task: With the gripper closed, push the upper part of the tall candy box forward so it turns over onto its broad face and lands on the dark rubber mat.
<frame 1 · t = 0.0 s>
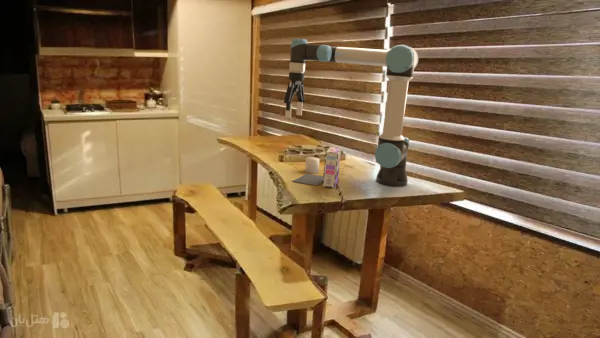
hand: (293, 116, 227), 28 cm above the table, fingers open, 13 cm apart
mat: (311, 179, 221), on the table
candy box: (330, 184, 216), on the table
cream capsule shape: (311, 171, 237), on the table
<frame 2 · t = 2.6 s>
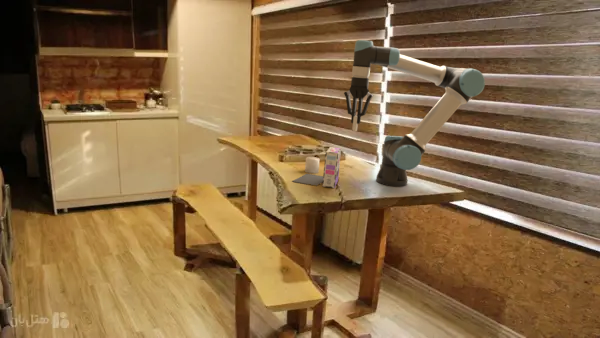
hand: (354, 130, 207), 26 cm above the table, fingers closed
nothing on the table moved.
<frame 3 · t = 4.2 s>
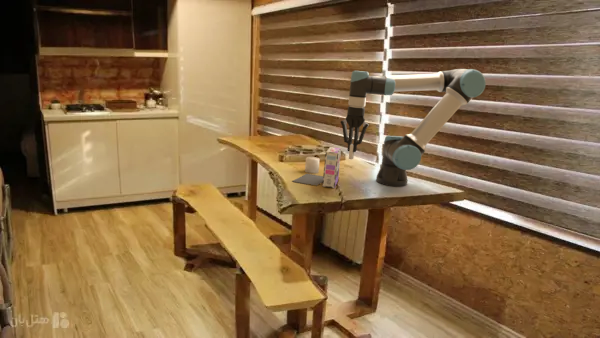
hand: (351, 158, 210), 13 cm above the table, fingers closed
nothing on the table moved.
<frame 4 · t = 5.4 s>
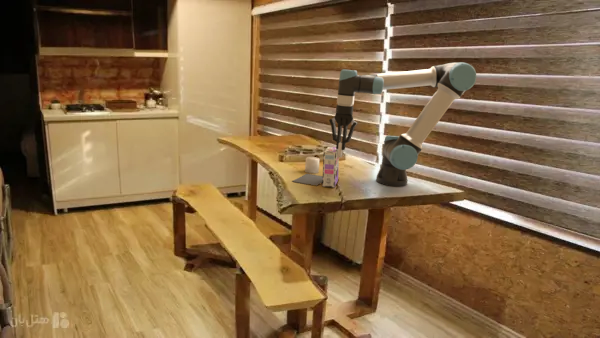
hand: (339, 156, 212), 14 cm above the table, fingers closed
candy box: (330, 184, 216), on the table, touching gripper
everything else where it was.
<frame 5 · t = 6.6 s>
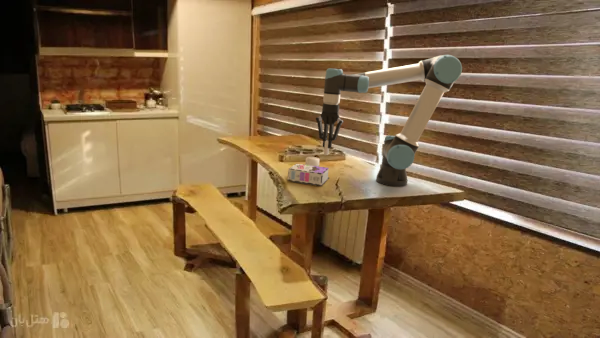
hand: (326, 154, 214), 14 cm above the table, fingers closed
candy box: (325, 176, 216), point 3 cm above the table, touching mat
everything else where it was.
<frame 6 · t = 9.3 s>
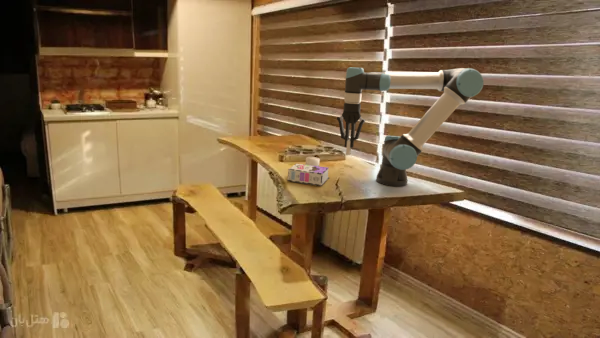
hand: (348, 154, 212), 15 cm above the table, fingers closed
nothing on the table moved.
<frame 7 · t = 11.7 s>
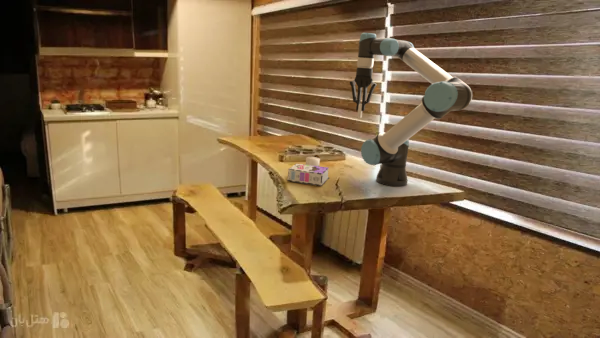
hand: (359, 117, 222), 30 cm above the table, fingers closed
nothing on the table moved.
at the end: candy box tilted 90°; candy box inside the target area (5.7 cm from its centre), point 3.3 cm above the table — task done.
